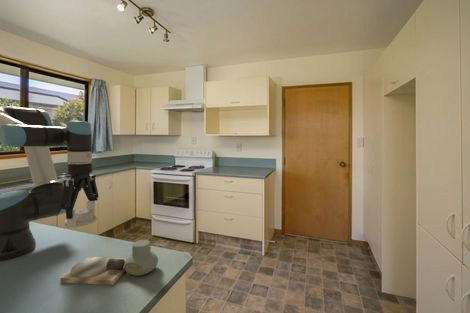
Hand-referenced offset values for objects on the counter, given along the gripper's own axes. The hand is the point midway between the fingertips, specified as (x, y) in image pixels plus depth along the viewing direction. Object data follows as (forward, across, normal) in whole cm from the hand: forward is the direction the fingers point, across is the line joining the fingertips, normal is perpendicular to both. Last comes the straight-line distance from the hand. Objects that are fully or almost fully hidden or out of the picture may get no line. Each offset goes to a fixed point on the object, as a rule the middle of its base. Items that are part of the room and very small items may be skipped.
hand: (81, 221), depth 86 cm
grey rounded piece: (+15, -6, -26) cm, 30 cm away
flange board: (+14, -8, -12) cm, 20 cm away
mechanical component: (+1, 0, 0) cm, 1 cm away
